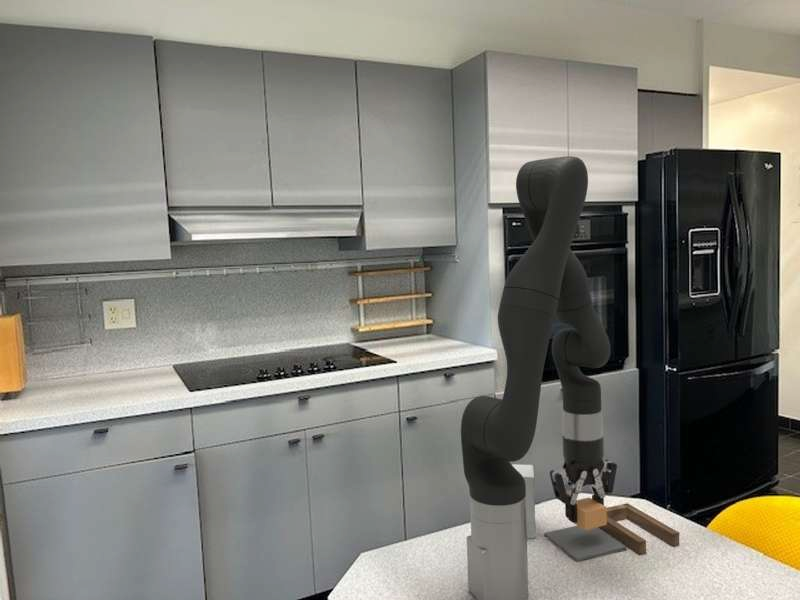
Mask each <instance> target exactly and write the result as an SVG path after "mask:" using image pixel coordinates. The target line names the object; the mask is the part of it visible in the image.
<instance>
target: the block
mask: <svg viewBox="0 0 800 600" xmlns="http://www.w3.org/2000/svg"><path fill="white" fill-rule="evenodd" d="M575 504H577V522H575V523H574V524H575V526H579V527H581V528H582V529H584V530H589V529H593V528H596V527H600V526H604V525H607V508H608V507H607V506H605V504H604V505H602V504H600V503H598V502H596V501H595V500H593V499H592V497H584V498H581V499H577V500H576V503H575Z"/></svg>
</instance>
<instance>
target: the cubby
mask: <svg viewBox="0 0 800 600" xmlns="http://www.w3.org/2000/svg"><path fill="white" fill-rule="evenodd" d="M606 508H607V525H604V526H600V527H598V528H599V529H602V531H604V532H605V533H607V534H608V535H610V536H611V537H613V538H614V539H616V540H617V541H619V542H620V543H622V544H623V545H625V546H626V547H627V549H630V550H632V551H633V552H634V553H636V554H638V555H639V556H641V555H645V554H647V540H646V539H644V538H643V537H642V536H640V535H638V534H636V533H635V532H633V531H632V530H631V529H629V528H627V527H625V526H624V525H622V524H621V523H619V522H618V521H617V520H619V521H622V519H623V520H628V519H629V520H630V521H629V520H628V521H629V522H631V521H632V522H631V523H633V522H634V523H635V525H636V524H637V527H639V526H640V528H641V529H643V530H645V531H646V532H648V533H649V534H651V535H652V536H655V537H656V538H658V539H659V540H660V541H663V542H664V543H666V544H668V545H670V546H671V547H672V548H673V547H677V546H680V532H679V531H677V530H675V529H673V527H670V526H669V525H666V524H665V523H664V522H662V521H659V520H658V519H656V518H655V517H653V516H651V515H649V514H647V513H646V512H645V511H642V510H640V509H638V508H637V507H635V506H634V505H632V504H629V503H628V502H627V503H623V504H618V505H614V506H607V507H606ZM625 518H627V519H625ZM634 523H633V524H634Z"/></svg>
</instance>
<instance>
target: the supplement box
mask: <svg viewBox="0 0 800 600" xmlns="http://www.w3.org/2000/svg"><path fill="white" fill-rule="evenodd" d="M511 464H512V463H511ZM512 466H513V467H514V468H515V469H516V470H517V471H518V472H519V473H520V474H521V475H522V476H523V478H524V480H525V485H526V519H527V539H535V538H536V504H535V503H536V501H535V500H536V495H535V494H536V492H535V472H534V465H533V464H518V463H517V464H512Z"/></svg>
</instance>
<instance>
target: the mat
mask: <svg viewBox="0 0 800 600" xmlns="http://www.w3.org/2000/svg"><path fill="white" fill-rule="evenodd" d="M543 537H545V538H546V537H547V538H548V539H547V538H546V539H547V540H549V541H550V542H551V543H552V542H553V543H552V544H553V545H555V546H556V547H558V549H560V550H561V551H562V552H564V554H566V553H567V554H568V555H567V556H569V557H570V558H571V559H572V558H573V560H574V561H575V562H576V561H579V562H581V561H580V560H583V561H585V560H584V559H587V560H590V559H589V558H591V559H595V558H598V557H603V556H608V555H612V554H615V553H618V552H624V551H627V549H628V547H627V546H625V545H624V544H622V543H621V542H619V541H618V540H616V539H615V538H613V537H612V536H610V535H609V534H607V533H606V532H604V531H603V530H601V529H600V528H598V527H596V528H593V529H589V530H584V529H582V528H581V527H579V526H578V525H573V526H571V527H570V526H569V527H564V528H561V529H557V530H551V531H547V532H544V533H543ZM594 557H595V558H594Z"/></svg>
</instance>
